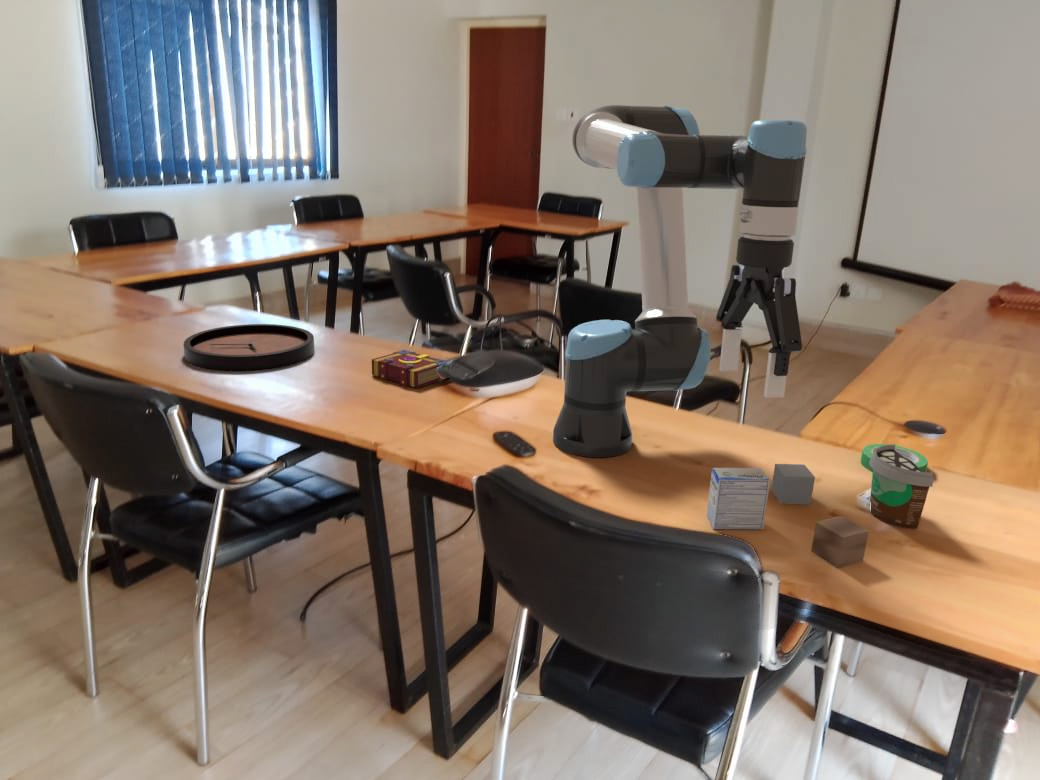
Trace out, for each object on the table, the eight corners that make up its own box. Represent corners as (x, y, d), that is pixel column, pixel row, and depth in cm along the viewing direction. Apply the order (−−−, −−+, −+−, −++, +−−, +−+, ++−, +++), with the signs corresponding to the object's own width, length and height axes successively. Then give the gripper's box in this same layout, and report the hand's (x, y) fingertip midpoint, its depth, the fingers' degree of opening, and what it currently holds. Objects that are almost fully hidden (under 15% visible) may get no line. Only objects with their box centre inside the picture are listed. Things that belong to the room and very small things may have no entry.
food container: (847, 497, 136) (857, 442, 132) (883, 497, 136) (893, 442, 133) (884, 533, 124) (895, 474, 121) (922, 533, 124) (935, 474, 121)
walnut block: (811, 552, 118) (816, 521, 117) (836, 545, 120) (841, 515, 119) (837, 568, 114) (842, 537, 112) (862, 561, 116) (868, 530, 114)
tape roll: (920, 461, 152) (922, 448, 152) (930, 484, 142) (933, 470, 142) (857, 452, 155) (859, 439, 155) (863, 475, 145) (865, 461, 144)
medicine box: (754, 517, 128) (761, 467, 125) (763, 531, 124) (771, 479, 121) (705, 516, 128) (711, 466, 125) (712, 530, 123) (719, 478, 121)
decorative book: (416, 390, 182) (416, 369, 180) (367, 375, 191) (366, 355, 190) (450, 379, 191) (450, 359, 189) (401, 365, 200) (401, 346, 198)
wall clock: (338, 333, 212) (257, 363, 185) (339, 348, 213) (258, 380, 186) (244, 318, 223) (154, 345, 196) (245, 332, 225) (156, 361, 197)
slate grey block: (771, 490, 138) (775, 463, 136) (800, 491, 138) (804, 464, 136) (780, 504, 133) (784, 476, 131) (810, 504, 133) (815, 477, 131)
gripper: (702, 227, 123) (690, 362, 129) (790, 248, 100) (770, 410, 106) (747, 227, 125) (733, 360, 131) (843, 247, 101) (821, 408, 108)
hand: (749, 383), depth 118 cm, fingers open, 13 cm apart
